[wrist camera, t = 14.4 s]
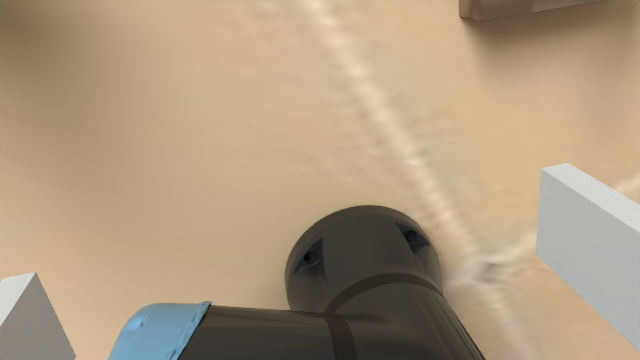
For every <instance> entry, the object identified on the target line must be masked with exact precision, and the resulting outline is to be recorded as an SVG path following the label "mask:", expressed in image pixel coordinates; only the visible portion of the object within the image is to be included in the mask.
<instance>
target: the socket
mask: <svg viewBox="0 0 640 360" xmlns="http://www.w3.org/2000/svg"><path fill="white" fill-rule="evenodd" d="M596 1H602V0H459V16H460V17H465V18H469V19H474V20H479V21H486V20H492V19H498V18H504V17H509V16H515V15H521V14H527V13H532V12H538V11H544V10H550V9H555V8H561V7H567V6H573V5H578V4H584V3H590V2H596Z"/></svg>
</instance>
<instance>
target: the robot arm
mask: <svg viewBox="0 0 640 360" xmlns="http://www.w3.org/2000/svg"><path fill="white" fill-rule="evenodd" d="M536 255H537V256H538V257H540V258H541V259H542V260H543V261H544V262H545V263H546V264H547V265H548V266H549V267H550V268H551V269H552V270H553V271H554V272H555V273H556V274H557V275H559V276H560V277H561V278H562V279H563V280H564V281H565V282H566V283H567V284H568V285H569V286H570V287H571V288H572V289H573V290H574V291H575V292H576V293H578V294H579V295H580V296H581V297H582V298H583V299H584V300H585V301H586V302H587V303H588V304H589V305H590V306H591V307H592V308H593V309H594V310H595V311H597V312H598V313H599V314H600V315H601V316H602V317H603V318H604V319H605V320H606V321H607V322H608V323H609V324H610V325H611V326H612V327H613V328H614V329H616V330H617V331H618V332H619V333H620V334H621V335H622V336H623V337H624V338H625V339H626V340H627V341H628V342H629V343H630V344H631V345H632V346H633V347H635V348H636V349H637V350H638V351H639V352H640V205H639V204H637V203H635V202H634V201H632V200H630V199H629V198H627V197H625V196H623V195H622V194H620V193H618V192H617V191H615V190H613V189H611V188H610V187H608V186H606V185H605V184H603V183H601V182H599V181H598V180H596V179H594V178H593V177H591V176H589V175H587V174H586V173H584V172H582V171H581V170H579V169H577V168H575V167H574V166H572V165H570V164H569V163H565V164H560V165H555V166H550V167H545V168H541V177H540V193H539V210H538V226H537V243H536ZM285 287H286V293H287V299H288V303H289V306H290V309H291V311H289V310H273V309H257V308H241V307H228V306H215V305H211V303H212V302H210V301H204V302H203V303H201V304H179V303H156V304H151V305H148V306H145V307H143V308H141V309H140V310H138V311H137V312H136V313H135V314H133V315H132V316H131V317H130V319H129V320H128V321H127V323H126V324H125V326H124V327H123V329H122V330H121V332H120V334H119V336H118V338H117V340H116V342H115V344H114V346H113V349H112V351H111V353H110V356H109V358H108V360H486V359H485V358H484V356H483V355H482V353H481V352H480V350H479V349H478V347H477V346H476V344H475V343H474V341H473V340H472V338H471V337H470V335H469V334H468V332H467V331H466V329H465V328H464V326H463V325H462V323H461V322H460V320H459V319H458V318H457V316H456V315H455V313H454V312H453V310H452V309H451V307H450V306H449V304H448V303H447V301H446V299H445V298H444V296H443V290H442V283H441V275H440V268H439V262H438V257H437V254H436V252H435V249H434V247H433V245H432V243H431V242H430V240H429V239H428V237H427V236H426V235H425V233H424V232H423V230H422V229H421V228H420V227H419V225H418V224H417V223H416V222H415V221H413V220H412V219H411V218H410V217H408V216H406V215H405V214H403V213H401V212H399V211H397V210H394V209H391V208H387V207H382V206H371V205H367V206H356V207H350V208H346V209H343V210H340V211H337V212H334V213H332V214H330V215H328V216H326V217H324V218H323V219H321V220H319V221H318V222H317V223H315V224H314V225H313V226H311V227H310V228H309V229H308V230H307V231H306V232H305V233H304V234H303V235H302V236H301V237H300V239H299V240H298V241H297V243H296V244H295V246H294V247H293V249H292V251H291V253H290V255H289V258H288V261H287V264H286V269H285ZM75 357H76V355H75V353H74V351H73V349H72V347H71V345H70V342H69V340H68V338H67V336H66V334H65V332H64V330H63V328H62V326H61V324H60V321H59V319H58V317H57V315H56V313H55V311H54V309H53V307H52V305H51V303H50V300H49V298H48V296H47V294H46V292H45V290H44V288H43V286H42V284H41V282H40V279H39V277H38V275H37V273H36V272H33V273H28V274H23V275H18V276H13V277H8V278H4V279H3V280H2V281H1V282H0V360H75Z"/></svg>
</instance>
